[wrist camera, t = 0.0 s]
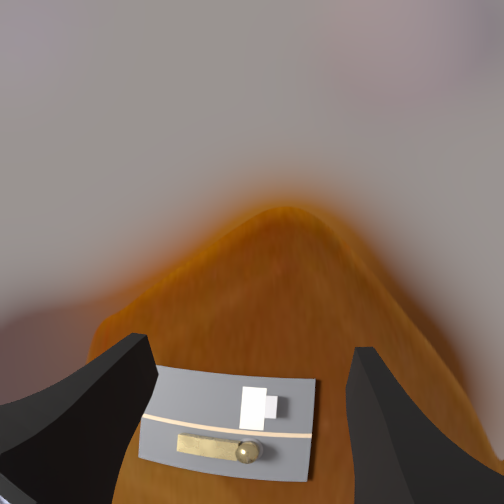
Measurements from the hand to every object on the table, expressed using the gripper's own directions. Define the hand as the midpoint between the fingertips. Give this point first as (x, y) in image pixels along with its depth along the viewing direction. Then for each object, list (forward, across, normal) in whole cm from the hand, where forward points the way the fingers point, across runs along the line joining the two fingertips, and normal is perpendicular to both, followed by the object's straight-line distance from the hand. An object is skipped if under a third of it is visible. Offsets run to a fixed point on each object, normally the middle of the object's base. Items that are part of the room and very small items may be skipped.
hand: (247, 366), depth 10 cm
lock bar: (+13, +7, +30) cm, 33 cm away
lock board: (+16, +7, +29) cm, 34 cm away
